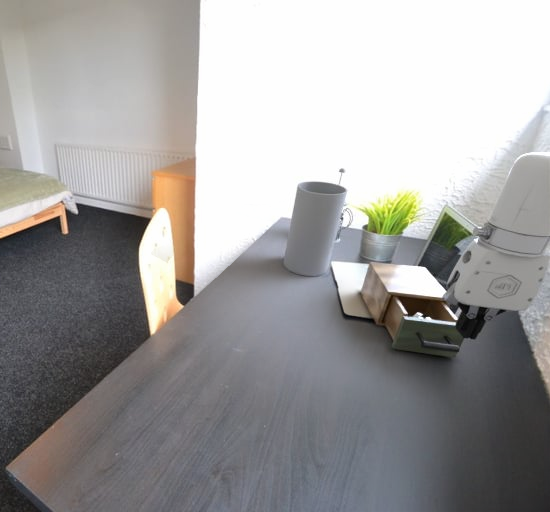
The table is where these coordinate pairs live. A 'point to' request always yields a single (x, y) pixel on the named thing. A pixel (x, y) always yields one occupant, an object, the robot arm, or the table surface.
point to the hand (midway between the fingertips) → (464, 333)
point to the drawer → (422, 326)
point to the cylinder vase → (314, 227)
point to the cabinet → (397, 286)
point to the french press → (342, 215)
